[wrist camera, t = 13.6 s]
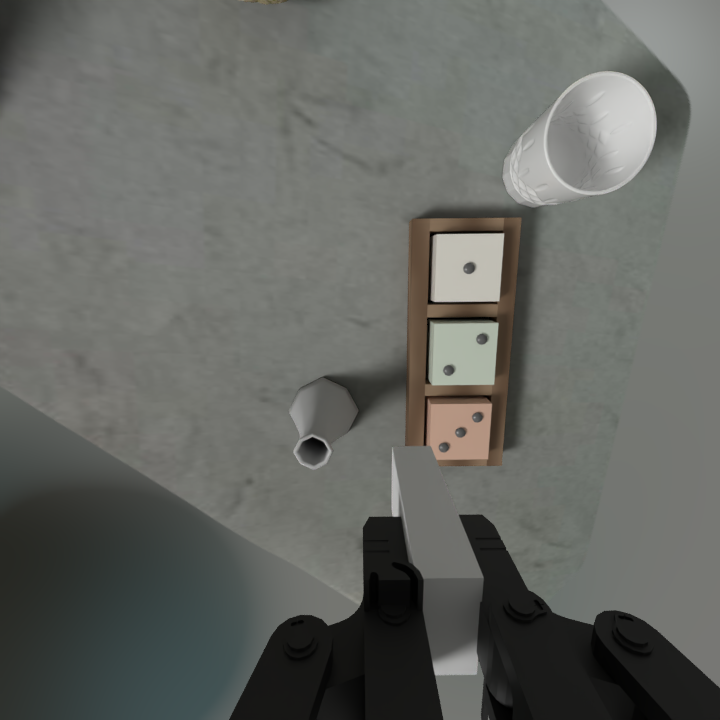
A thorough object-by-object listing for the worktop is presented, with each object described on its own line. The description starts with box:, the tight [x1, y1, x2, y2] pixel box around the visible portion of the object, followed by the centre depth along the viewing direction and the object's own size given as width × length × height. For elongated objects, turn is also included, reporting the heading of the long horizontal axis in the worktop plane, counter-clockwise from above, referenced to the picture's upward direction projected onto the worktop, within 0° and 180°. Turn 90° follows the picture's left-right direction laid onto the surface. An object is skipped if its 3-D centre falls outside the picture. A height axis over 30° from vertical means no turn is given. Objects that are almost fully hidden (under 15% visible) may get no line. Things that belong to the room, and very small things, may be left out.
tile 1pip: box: [429, 234, 504, 302], centre depth 37 cm, size 6×6×3 cm
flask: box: [289, 377, 359, 470], centre depth 38 cm, size 7×7×10 cm
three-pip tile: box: [424, 395, 492, 460], centre depth 40 cm, size 6×6×3 cm
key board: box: [405, 218, 522, 466], centre depth 40 cm, size 10×25×2 cm, turn 1°
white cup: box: [502, 71, 657, 208], centre depth 32 cm, size 8×8×10 cm
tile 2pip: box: [427, 319, 499, 385], centre depth 38 cm, size 6×6×3 cm
